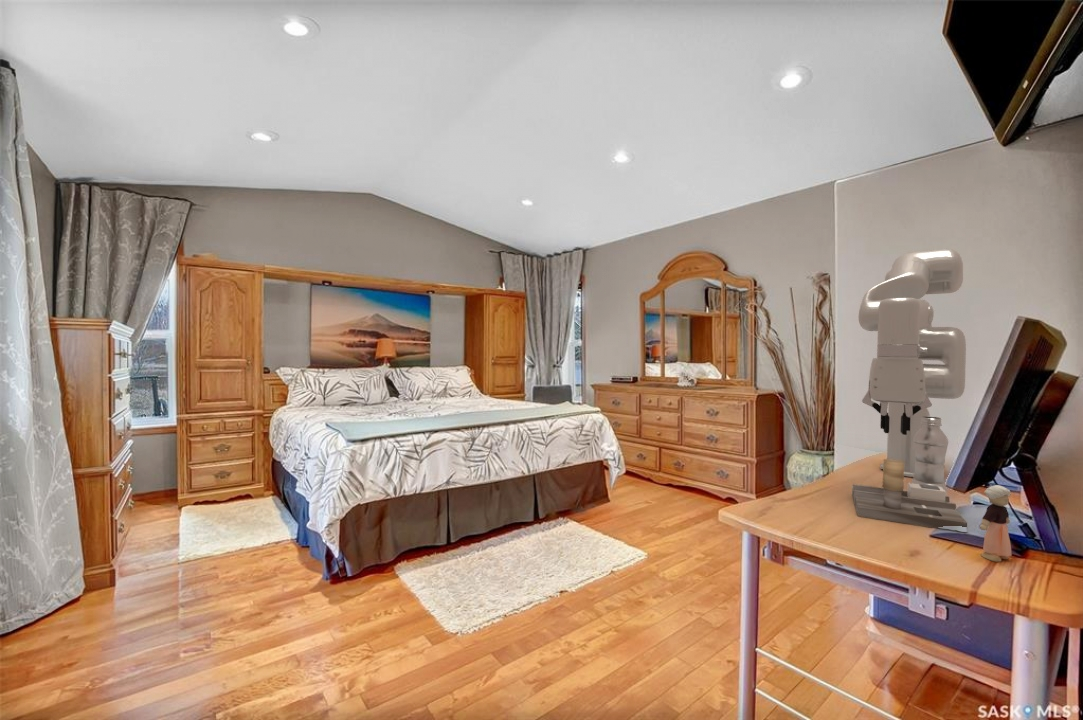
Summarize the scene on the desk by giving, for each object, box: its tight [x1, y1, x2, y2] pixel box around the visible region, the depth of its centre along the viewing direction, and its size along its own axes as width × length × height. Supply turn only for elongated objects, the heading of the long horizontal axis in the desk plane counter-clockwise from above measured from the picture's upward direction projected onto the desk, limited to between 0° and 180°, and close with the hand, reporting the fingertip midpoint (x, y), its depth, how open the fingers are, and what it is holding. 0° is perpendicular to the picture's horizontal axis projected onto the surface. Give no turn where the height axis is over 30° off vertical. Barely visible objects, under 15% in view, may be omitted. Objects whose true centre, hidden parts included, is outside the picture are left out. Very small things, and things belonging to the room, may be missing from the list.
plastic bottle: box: [911, 415, 949, 496], centre depth 112 cm, size 6×7×20 cm
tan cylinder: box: [882, 458, 905, 509], centre depth 102 cm, size 4×4×10 cm
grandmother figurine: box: [979, 484, 1013, 563], centre depth 83 cm, size 8×4×13 cm, turn 123°
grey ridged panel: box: [851, 483, 968, 529], centre depth 105 cm, size 16×18×3 cm
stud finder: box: [906, 482, 947, 502], centre depth 106 cm, size 4×6×3 cm, turn 60°
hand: (894, 432), depth 108 cm, fingers open, 2 cm apart
